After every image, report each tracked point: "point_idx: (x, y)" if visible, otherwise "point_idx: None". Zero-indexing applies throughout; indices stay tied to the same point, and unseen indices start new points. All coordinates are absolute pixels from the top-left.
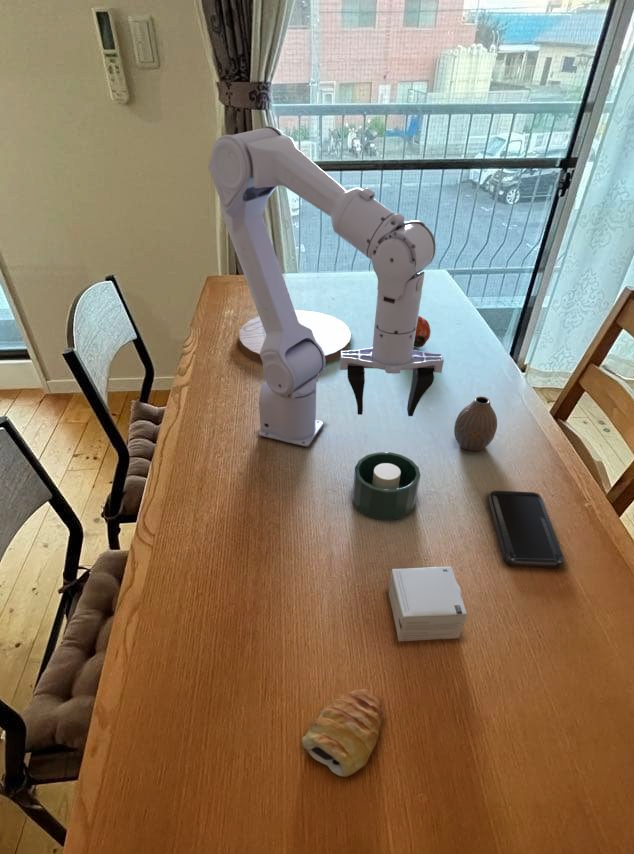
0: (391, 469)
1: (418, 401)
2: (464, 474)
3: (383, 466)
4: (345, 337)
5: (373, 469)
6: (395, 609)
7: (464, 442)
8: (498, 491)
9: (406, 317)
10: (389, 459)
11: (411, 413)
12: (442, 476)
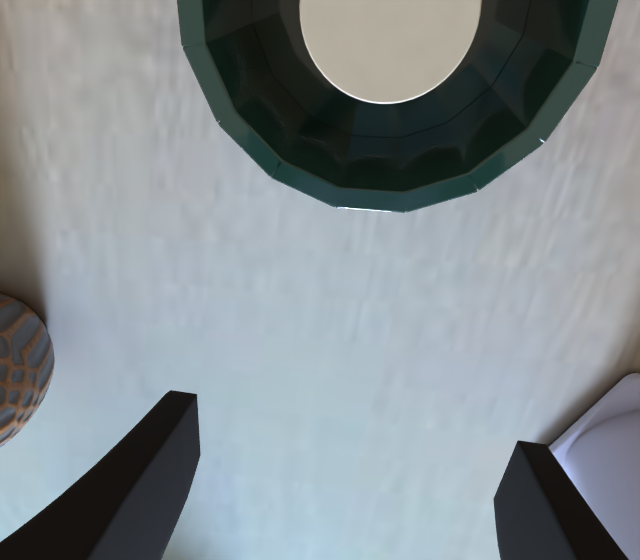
0: (356, 31)
1: (78, 482)
2: (18, 163)
3: (402, 68)
4: None
5: (423, 151)
6: None
7: (7, 314)
8: None
9: None
10: (341, 174)
11: (169, 404)
12: (105, 156)
